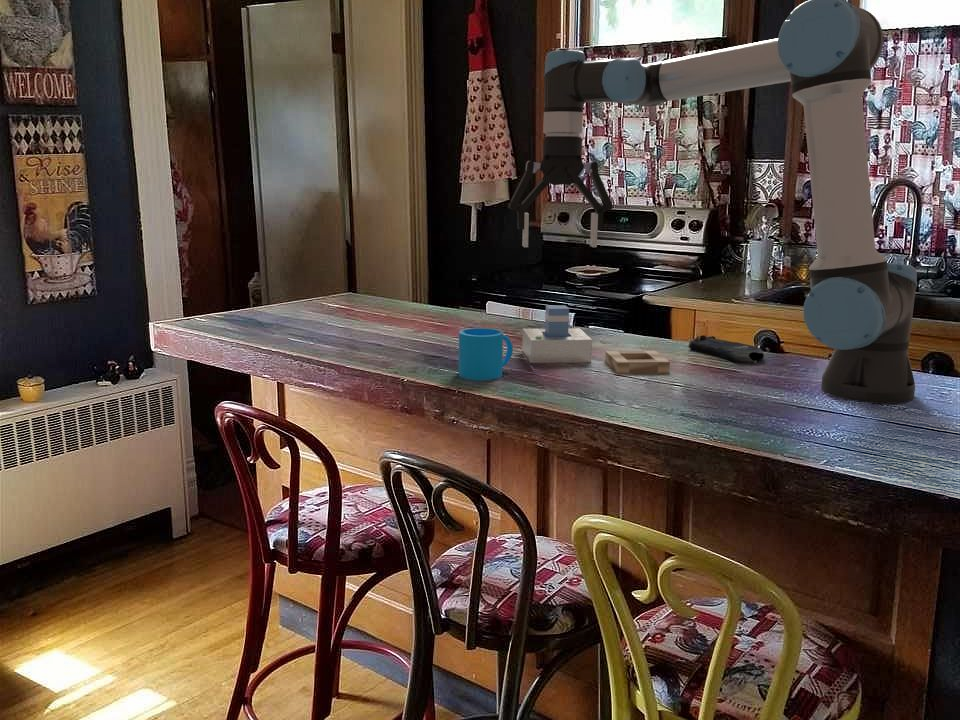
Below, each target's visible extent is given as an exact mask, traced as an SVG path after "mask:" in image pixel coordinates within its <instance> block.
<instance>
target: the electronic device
mask: <svg viewBox="0 0 960 720" xmlns="http://www.w3.org/2000/svg"><path fill="white" fill-rule="evenodd" d="M687 347H688V348H689V349H690V350H691V351H695V352H699V353H702V354H706V355H710V356H714V357H715V356H716V357H719V358H722V359H724V360H725V359H726V360H727V361H728V362H730V363H731V362H732V363H736V362H737V363H739V364H757V363H759V362H761V361H762V360H764V358H765V353H764V351H763V350H762V348H760V347H758V346H754V345H750V344H745V343H742V342H738V341H737V342H736V341H730V340H727V339H726V340H724V339H719V338H716V336H714V335H712V336H708V337H707V335H704V334H702V335H699V337H695V338H692V339H690V340H689V342H688V346H687ZM752 358H756V359H757V360H758V361H757V360H753V359H752ZM737 363H736V364H737Z"/></svg>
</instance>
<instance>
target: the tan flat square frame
mask: <svg viewBox="0 0 960 720" xmlns="http://www.w3.org/2000/svg"><path fill="white" fill-rule="evenodd" d="M604 357H605V358H604V359H605V360H604V362H606V364H607V365H608V366H609V367H610V368H611V369H613V371H615V373H617V374H628V373H629V374H642V373H645V374H652V373H654V374H656V373H659V374H660V373H663V374H664V373H670V371H671V370H670V369H671V368H670V367H671V362H670V361H669V360H668V359H667V358H666V357H665V356H663V355H661V354H660V353H659V352H657V351H656V350H606V351H605V354H604Z"/></svg>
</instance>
